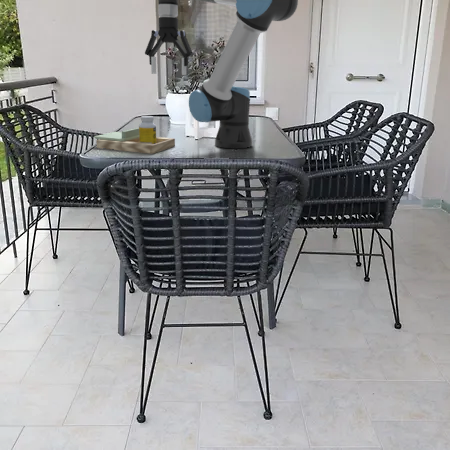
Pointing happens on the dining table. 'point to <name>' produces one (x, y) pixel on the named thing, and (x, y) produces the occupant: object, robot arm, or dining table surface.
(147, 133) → the pill bottle
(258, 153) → the dining table surface
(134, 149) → the board
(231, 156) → the dining table surface
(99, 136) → the cover
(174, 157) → the dining table surface
